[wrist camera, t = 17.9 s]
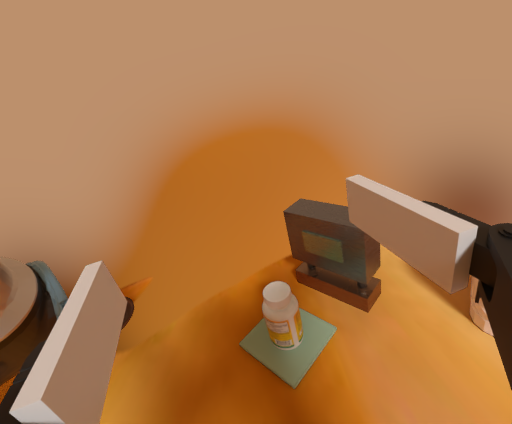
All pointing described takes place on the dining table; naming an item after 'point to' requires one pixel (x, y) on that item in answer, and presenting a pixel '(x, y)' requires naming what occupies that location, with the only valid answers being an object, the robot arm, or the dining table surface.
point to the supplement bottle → (282, 316)
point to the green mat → (290, 361)
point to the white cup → (478, 310)
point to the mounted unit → (333, 253)
